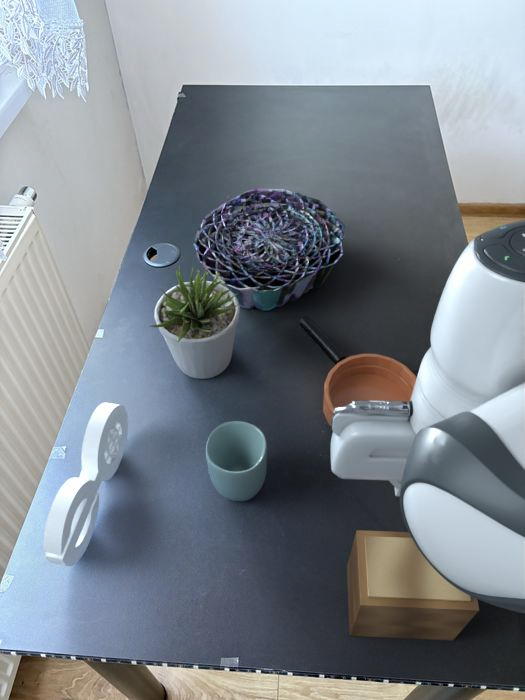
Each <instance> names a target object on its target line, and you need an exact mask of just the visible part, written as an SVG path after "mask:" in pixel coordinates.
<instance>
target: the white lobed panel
mask: <svg viewBox="0 0 525 700" xmlns="http://www.w3.org/2000/svg"><path fill="white" fill-rule="evenodd" d="M84 431H85V432H84V435H83V440H82V445H81V456H80V457H81V459H80V462H81V471H80V473H79V476H78V477H74V476H73V477H70V478H69V479H67V480H66V481H65V482H64V483H63V484H62V486H61V487H60V488H59V490H58V491H57V493H56V495H55V497H54V499H53V501H52V504H51V505H50V508H49V511H48V514H47V518H46V522H45V526H44V531H43V532H44V534H43V552H44V553H45V559H46V560H47V561H48V563H50V564H54V565H60V566H64V567H72V566H74V565H76V564H77V563H78V562H79V561H80V560H81V558H82V557H83V555H84V554H85V552H86V551H87V548H88V546H89V545H90V542H91V539H92V536H93V534H94V532H95V528H96V524H97V521H98V520H97V519H98V515H99V507H100V493H99V489H100V486H101V484H102V481H103V482H107V481H109V480H111V478H113V476H114V475H115V473H116V472H117V471H118V469H119V467H120V464H121V461H122V459H123V457H124V453H125V449H126V445H127V440H128V432H129V417H128V413H127V409H126V407H125V406H124V405H122V404H117V403H111V402H101V403H100V404H99V405H97V407H96V408H95V410H94V411H93V412H92V415H91V416H90V418H89V420H88V423H87V426H86V429H85V430H84Z"/></svg>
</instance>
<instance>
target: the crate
mask: <svg viewBox="0 0 525 700" xmlns="http://www.w3.org/2000/svg"><path fill="white" fill-rule="evenodd" d="M346 585H347V607H348V609H347V610H348V611H347V612H348V631H349V632H348V634H349V636H350V637H367V638H369V637H370V638H388V639H389V638H392V639H410V640H411V639H412V640H429V641H430V640H432V641H433V640H434V641H454V640H455V639H456V638H457V636H458V635H460V633H461V632H462V631H463V630H464V628H465V627H466V626H467V625H468V624H469V623H470V622H471V621H472V619H473V618H474V617H475V616H476V615H477V614H478V613H479V611H480V606H479V599H476V598H474V597H472V596H470V595H468V594H466V593H464V592H462V591H460V590H459V589H457V588H456V587H454V586H453V585H451V584H450V583H449V582H448V581H446V580H445V579H444V578H443V577H442V576H441V575H440V574H439V573H438V572H437V571H436V570H435V569H434V568H433V567H432V566H431V565H430V564H429V562H428V561H427V560H426V559H425V558H424V556H423V555H422V554H421V552H420V551H419V549H418V548H417V546H416V545H415V543H414V541H413V540H412V538H411V536H410V534H409V532H408V531H388V530H387V531H386V530H385V531H384V530H361V529H360V530H359V529H358V530H356V531H355V535H354V539H353V542H352V546H351V550H350V554H349V558H348V561H347V565H346Z"/></svg>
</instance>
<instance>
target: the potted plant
mask: <svg viewBox="0 0 525 700" xmlns="http://www.w3.org/2000/svg"><path fill="white" fill-rule="evenodd" d="M194 267H195V265H192V268H191V273H190V277H189V281H186V282H185V281H184V277H183V275H182V271H181V265H178V269H175V272H176V277H177V281H178V285H175V286H173V287H171V288H170V289H168V290H167V291H164V290H163V289H161V288H160V287H159V290H160V291H161V292H162V296H161V297H160V298H159V300H158V301H157V303H156V305H155V308H154V320H155V323H156V324H153V325H149V327H150V328H157V329H158V330H159V332H160V334H161V335H162V336H163V339H164V341H165V343H166V345H167V347H168V349H169V351H170V353H171V355H172V358H173V360H174V362H175V363H176V365H177V367H178V368H179V370H181V372H182V373H183V374H184V375H186V376H188V377H191V378H194V379H202V380H203V379H211V378H214V377H216V376H218V375H220V374H221V373H223V372H224V371H225V370H226V369H227V368H228V367H229V365H230V362H231V360H232V355H233V351H234V343H235V338H236V332H237V327H238V324H239V320H240V319H239V318H240V314H241V313H240V312H241V307H240V306H239V305H240V304H239V302H238V299H237V298H236V295H237V294H238V293H237V294H234V293H233V292H232V291H231V290H232V289H228V288H226V287H224V286H223V285H221V284H219V283H221V281H219V282H217V283H215V281H216V280H217V278H218V277H217V278H216V279H214V280H212V281H209V280H207V275H209V274H208V272H207V271H206V269H204V270H205V271H204V274H203V276H202V277H201V276H200V273H201V270H199V268H197V269H196V276H195V278H194Z"/></svg>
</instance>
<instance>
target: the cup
mask: <svg viewBox="0 0 525 700" xmlns="http://www.w3.org/2000/svg"><path fill="white" fill-rule="evenodd" d="M205 459H206V465H207V470H208V475H209V479H210V482H211V484H212V486H213V487H214V489H215V491H216V492H217V493H218V495H220V496H221V497H223V498H225V499H227V500H230V501H233V502H245V501H249V500H251V499H253V498H254V497H256V496H257V495H258V494H259V492H260V491H261V489H262V487H263V486H264V483H265V480H266V477H267V472H268V471H267V470H268V444H267V439H266V436H265V434H264V432H263V431H262V430H261V429H260V428H259V427H258V426H256V425H254V424H251V423H249V422H246V421H242V420H241V421H239V420H233V421H232V420H231V421H227V422H224V423H221V424H219V425H217V427H215V428H214V429H213V430H212V431H211V433H210V434H209V436H208V438H207V441H206V445H205Z"/></svg>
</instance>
